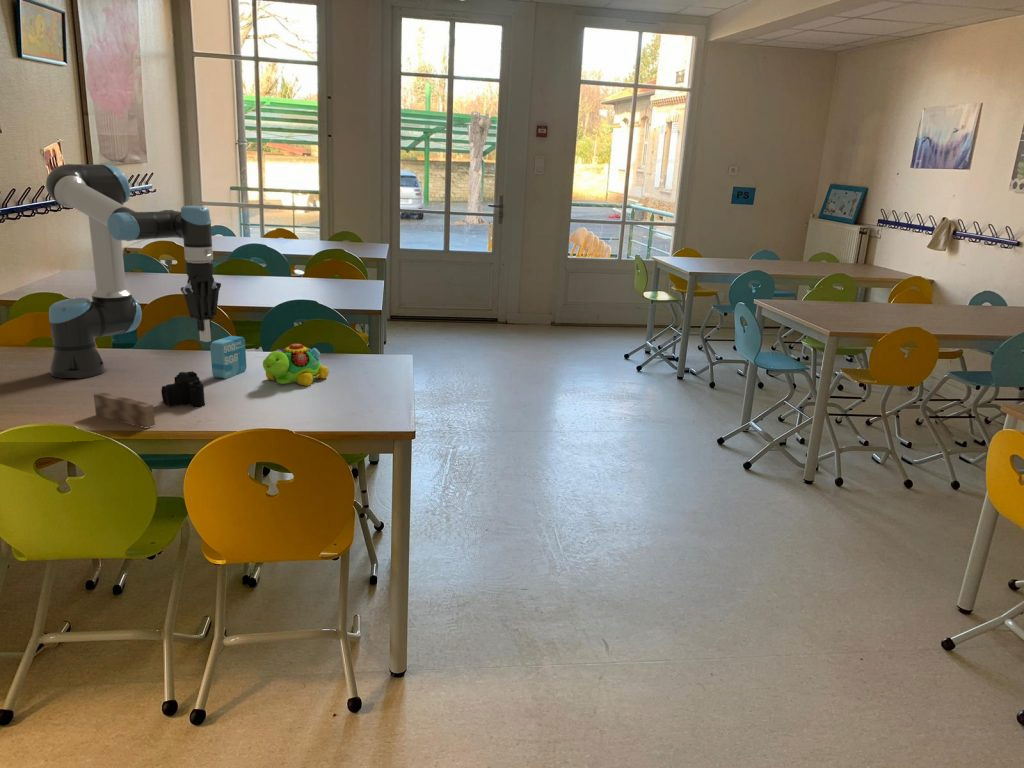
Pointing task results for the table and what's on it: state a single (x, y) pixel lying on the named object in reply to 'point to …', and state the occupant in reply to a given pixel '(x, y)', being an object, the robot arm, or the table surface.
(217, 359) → the data package
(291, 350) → the turtle toy
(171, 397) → the film camera
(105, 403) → the stone brick
